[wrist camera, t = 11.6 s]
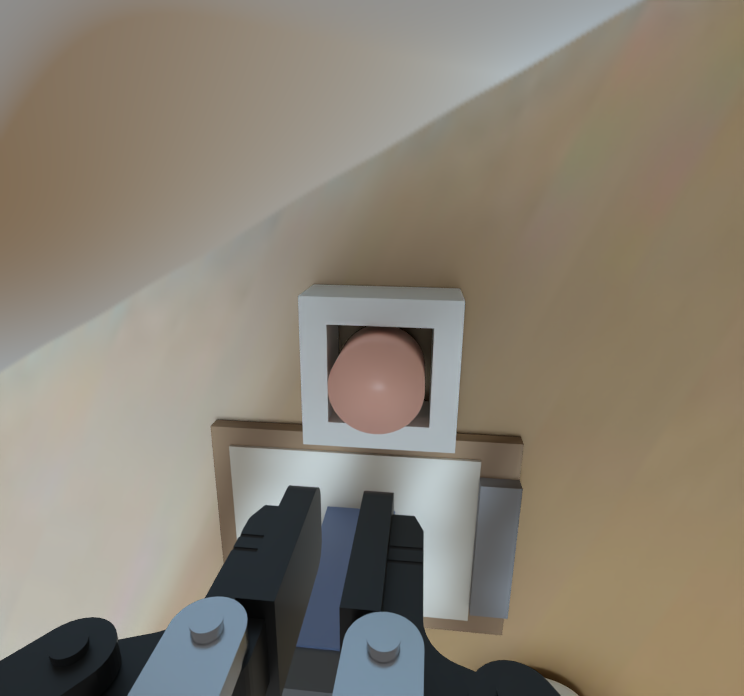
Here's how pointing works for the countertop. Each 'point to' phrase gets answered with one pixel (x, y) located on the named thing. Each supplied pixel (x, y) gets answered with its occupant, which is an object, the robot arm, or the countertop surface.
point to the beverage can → (562, 688)
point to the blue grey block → (324, 610)
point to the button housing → (385, 309)
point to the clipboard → (411, 497)
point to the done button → (378, 380)
